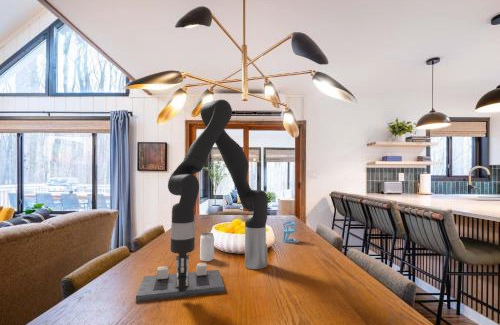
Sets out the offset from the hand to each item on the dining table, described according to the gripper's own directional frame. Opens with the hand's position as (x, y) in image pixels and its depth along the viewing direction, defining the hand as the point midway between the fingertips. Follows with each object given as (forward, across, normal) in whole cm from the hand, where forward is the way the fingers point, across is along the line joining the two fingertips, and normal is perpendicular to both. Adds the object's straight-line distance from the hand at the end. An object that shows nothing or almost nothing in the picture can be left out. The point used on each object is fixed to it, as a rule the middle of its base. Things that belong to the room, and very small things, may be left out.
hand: (182, 290), depth 82 cm
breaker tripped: (+1, +6, 0) cm, 6 cm away
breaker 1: (+1, +14, +7) cm, 16 cm away
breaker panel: (+3, +10, 0) cm, 10 cm away
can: (+3, +38, -11) cm, 40 cm away
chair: (+3, +59, -62) cm, 86 cm away
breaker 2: (+1, +14, -7) cm, 16 cm away
